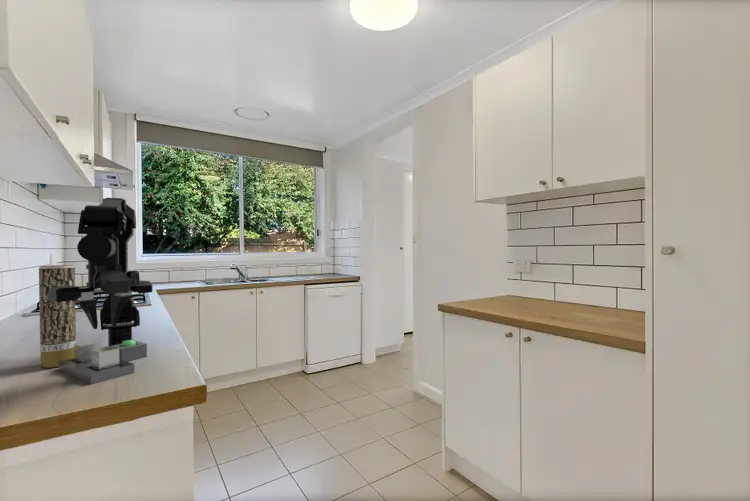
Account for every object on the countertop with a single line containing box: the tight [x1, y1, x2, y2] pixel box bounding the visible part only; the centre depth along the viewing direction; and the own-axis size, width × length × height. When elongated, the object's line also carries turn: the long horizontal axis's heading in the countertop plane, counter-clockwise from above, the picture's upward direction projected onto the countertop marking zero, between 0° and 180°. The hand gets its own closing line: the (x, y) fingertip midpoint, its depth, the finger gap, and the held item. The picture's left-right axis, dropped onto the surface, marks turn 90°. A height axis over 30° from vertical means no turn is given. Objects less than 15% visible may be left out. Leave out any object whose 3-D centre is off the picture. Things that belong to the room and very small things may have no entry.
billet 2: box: [91, 346, 119, 372], centre depth 84 cm, size 4×4×6 cm
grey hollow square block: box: [113, 340, 148, 362], centre depth 97 cm, size 6×6×4 cm
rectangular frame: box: [59, 358, 135, 385], centre depth 87 cm, size 18×8×2 cm, turn 57°
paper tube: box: [38, 264, 77, 369], centre depth 91 cm, size 7×7×25 cm
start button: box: [122, 339, 137, 347], centre depth 97 cm, size 3×3×2 cm
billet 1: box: [74, 339, 102, 364], centre depth 89 cm, size 4×4×6 cm
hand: (104, 327), depth 84 cm, fingers open, 3 cm apart
